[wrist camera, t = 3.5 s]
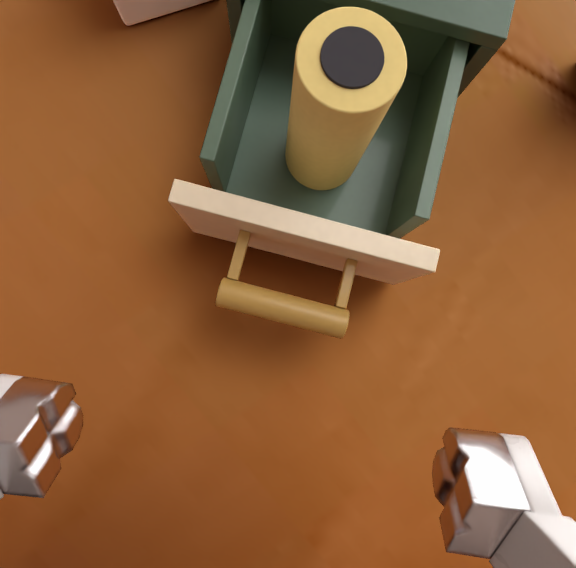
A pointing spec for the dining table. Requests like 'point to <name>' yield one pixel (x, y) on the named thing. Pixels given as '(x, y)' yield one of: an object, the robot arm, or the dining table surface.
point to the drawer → (309, 202)
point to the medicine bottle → (150, 8)
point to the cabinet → (436, 23)
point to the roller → (340, 93)
